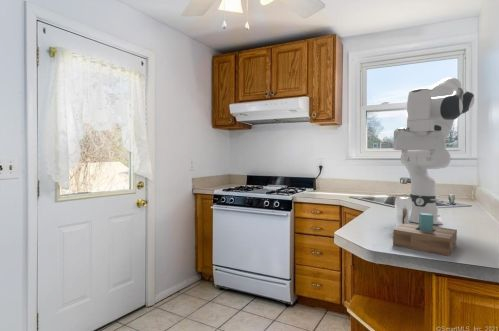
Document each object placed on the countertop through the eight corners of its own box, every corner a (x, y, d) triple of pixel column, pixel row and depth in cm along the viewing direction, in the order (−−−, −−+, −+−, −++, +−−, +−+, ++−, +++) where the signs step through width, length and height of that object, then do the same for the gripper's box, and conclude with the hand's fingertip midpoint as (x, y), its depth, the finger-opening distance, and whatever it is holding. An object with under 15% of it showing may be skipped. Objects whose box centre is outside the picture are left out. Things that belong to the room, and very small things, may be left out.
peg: (418, 243, 119) (419, 212, 119) (429, 244, 118) (430, 213, 117) (420, 245, 115) (421, 214, 115) (432, 247, 114) (433, 215, 114)
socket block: (405, 236, 129) (406, 222, 129) (456, 245, 117) (456, 229, 117) (392, 245, 116) (393, 229, 115) (448, 256, 104) (449, 238, 104)
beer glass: (390, 228, 142) (391, 197, 142) (401, 228, 145) (403, 196, 144) (402, 232, 136) (404, 199, 135) (414, 231, 138) (415, 198, 138)
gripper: (397, 127, 122) (397, 161, 123) (447, 126, 123) (447, 160, 123) (390, 128, 128) (389, 161, 129) (437, 128, 129) (437, 160, 130)
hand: (418, 161), depth 126 cm, fingers open, 8 cm apart
